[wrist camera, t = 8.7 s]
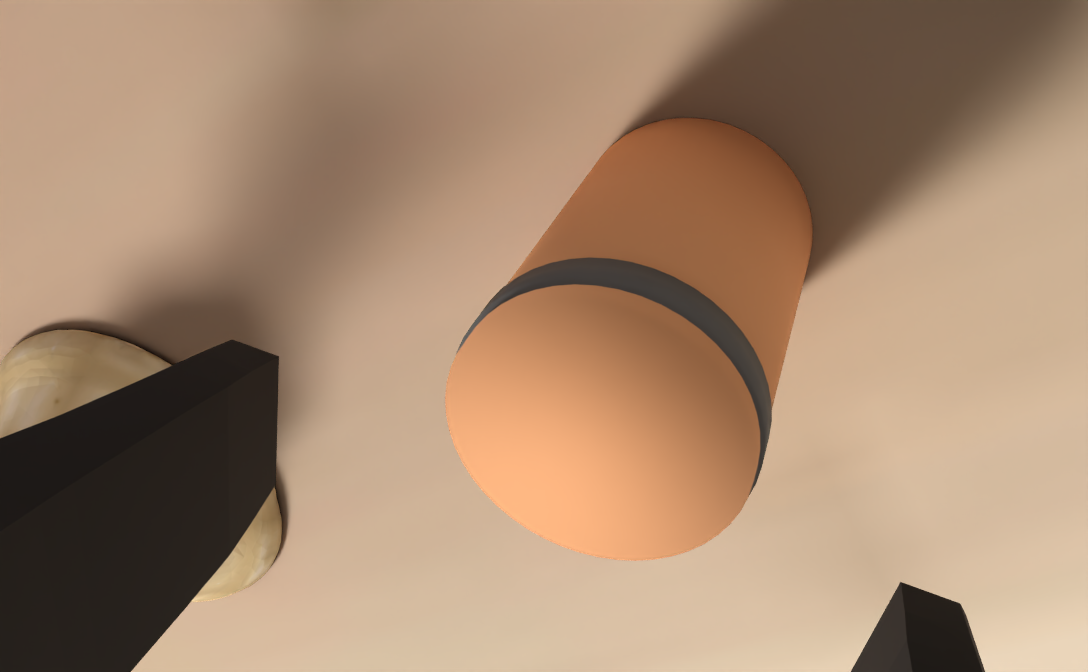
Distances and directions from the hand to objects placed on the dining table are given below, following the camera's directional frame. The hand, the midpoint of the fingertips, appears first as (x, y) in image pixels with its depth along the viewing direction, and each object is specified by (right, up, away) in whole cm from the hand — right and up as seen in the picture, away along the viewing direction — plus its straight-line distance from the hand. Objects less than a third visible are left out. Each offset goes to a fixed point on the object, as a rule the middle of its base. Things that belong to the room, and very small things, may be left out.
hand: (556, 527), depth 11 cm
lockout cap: (+2, +4, +6) cm, 8 cm away
